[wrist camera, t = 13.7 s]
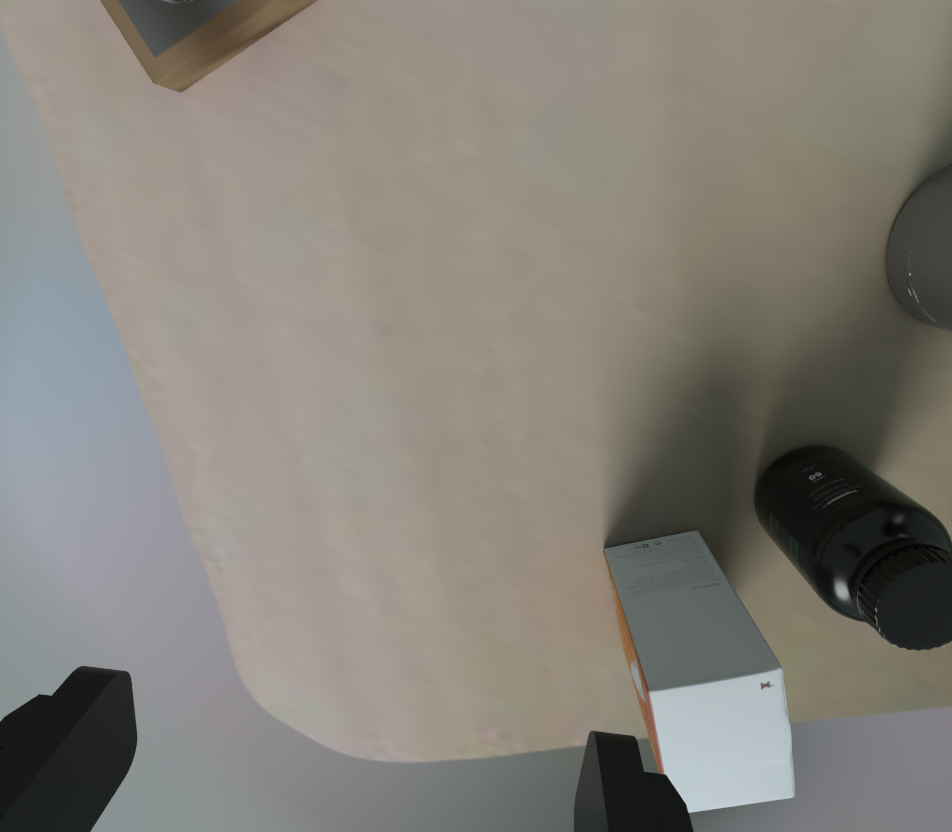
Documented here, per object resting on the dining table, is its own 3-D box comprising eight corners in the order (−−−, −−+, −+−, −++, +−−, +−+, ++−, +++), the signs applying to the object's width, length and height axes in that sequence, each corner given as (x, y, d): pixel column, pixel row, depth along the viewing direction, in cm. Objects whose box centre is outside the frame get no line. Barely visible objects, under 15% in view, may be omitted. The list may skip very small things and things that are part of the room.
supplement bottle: (854, 428, 40) (1001, 521, 28) (870, 524, 42) (1013, 647, 30) (741, 461, 40) (840, 565, 29) (763, 554, 42) (863, 685, 31)
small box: (600, 546, 43) (646, 689, 30) (699, 527, 42) (786, 665, 30) (620, 648, 45) (670, 820, 33) (714, 631, 44) (800, 799, 32)
